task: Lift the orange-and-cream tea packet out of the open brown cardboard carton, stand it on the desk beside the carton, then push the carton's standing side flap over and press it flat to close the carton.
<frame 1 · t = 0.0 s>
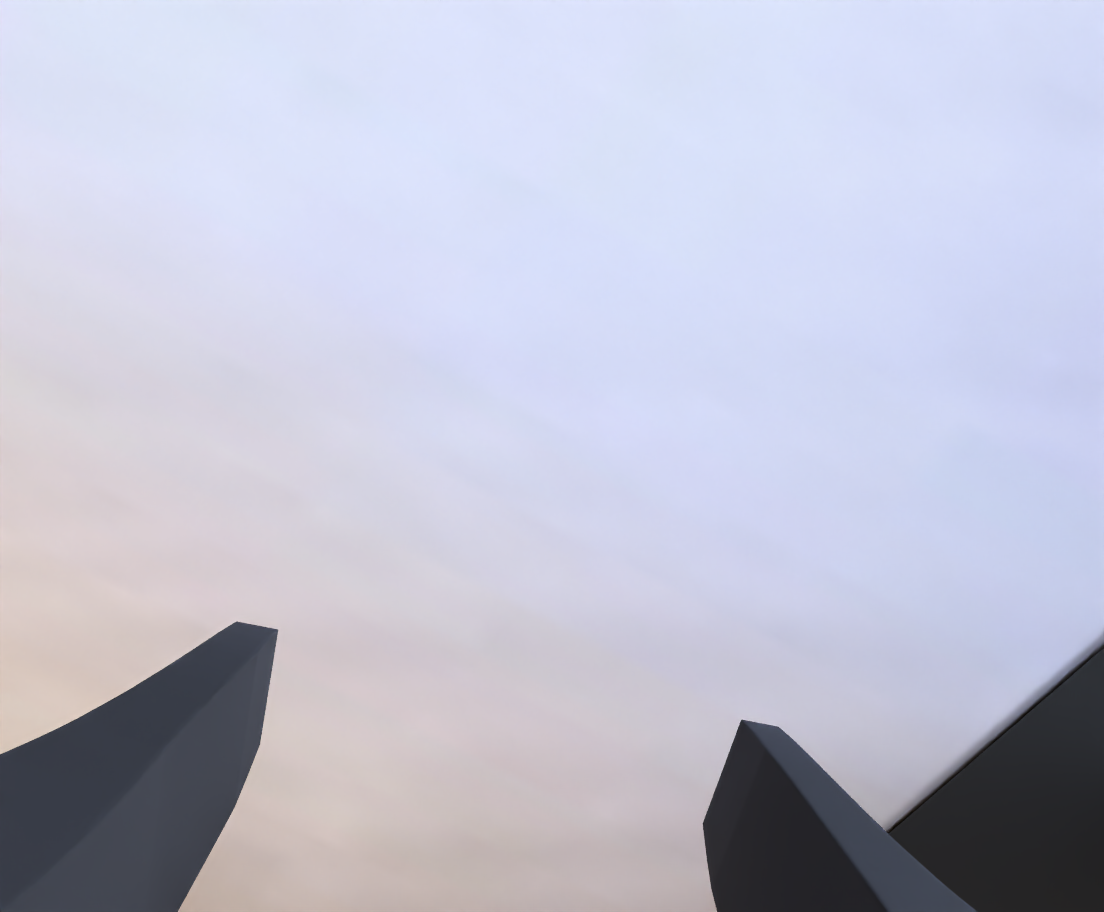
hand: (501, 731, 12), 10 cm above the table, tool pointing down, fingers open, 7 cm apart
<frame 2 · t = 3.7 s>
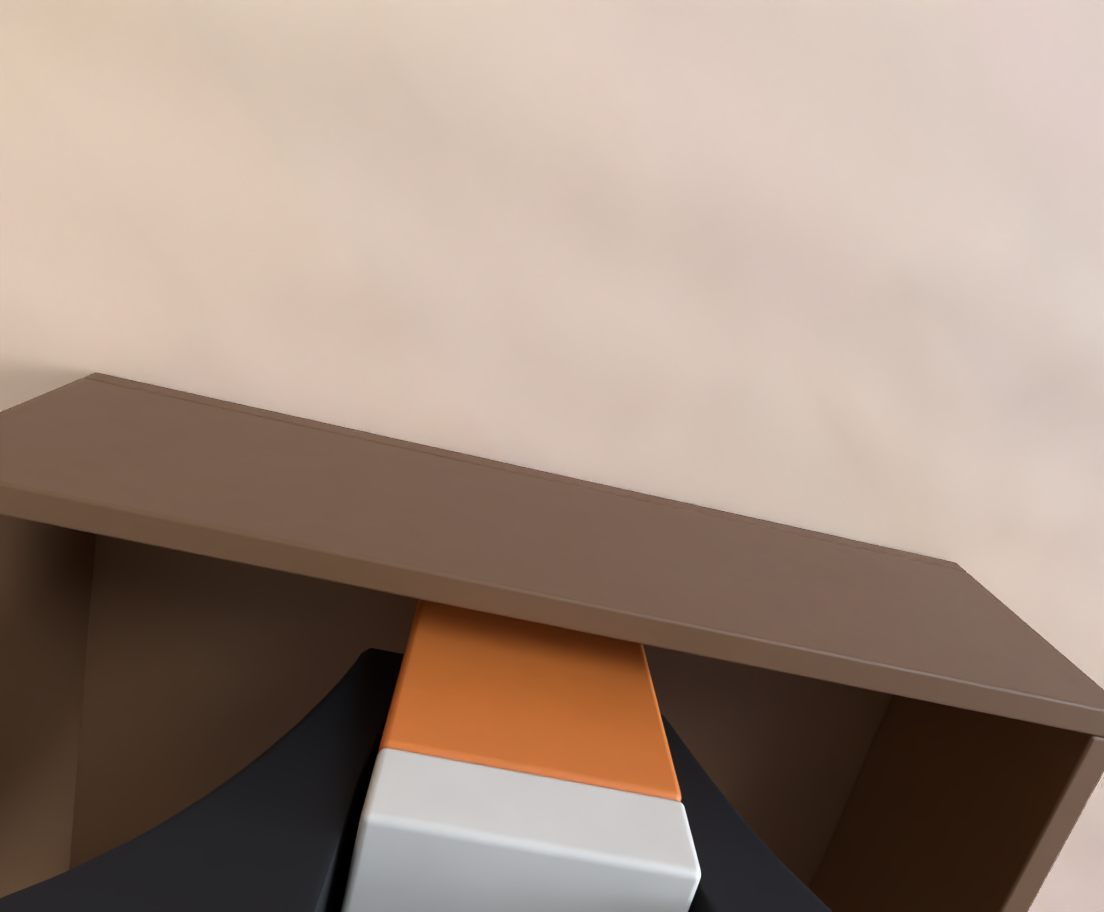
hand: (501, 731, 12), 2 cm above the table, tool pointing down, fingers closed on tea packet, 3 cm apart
tea packet: (503, 658, 14), resting on carton, touching gripper
carton: (481, 737, 15), on the table
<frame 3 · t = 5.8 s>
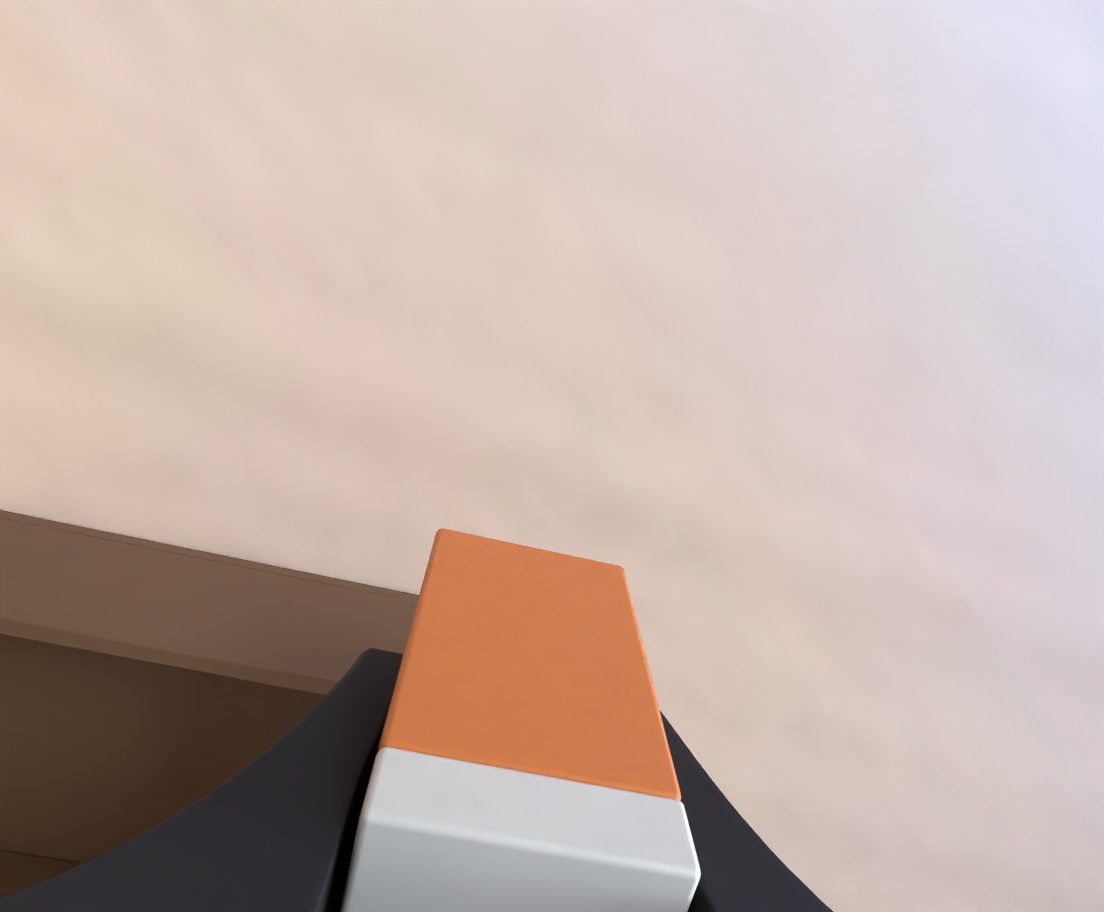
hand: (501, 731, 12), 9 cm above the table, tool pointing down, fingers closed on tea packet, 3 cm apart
tea packet: (503, 657, 14), point 7 cm above the table, touching gripper
carton: (258, 738, 23), on the table
when the fingers open (2 cm above the table, at t = 8.1 s): tea packet stays where it is, on the table.
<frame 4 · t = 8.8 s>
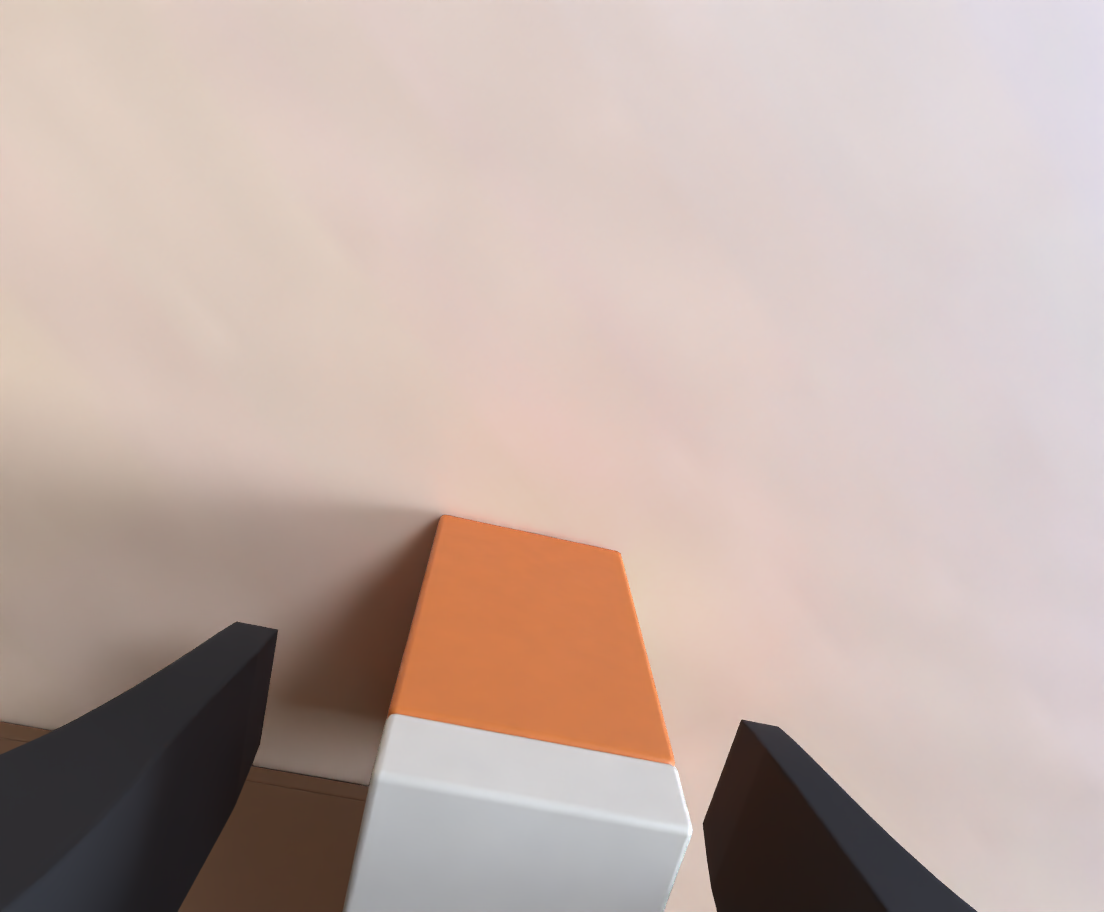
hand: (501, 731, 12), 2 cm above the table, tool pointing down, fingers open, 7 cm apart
tea packet: (504, 640, 15), on the table
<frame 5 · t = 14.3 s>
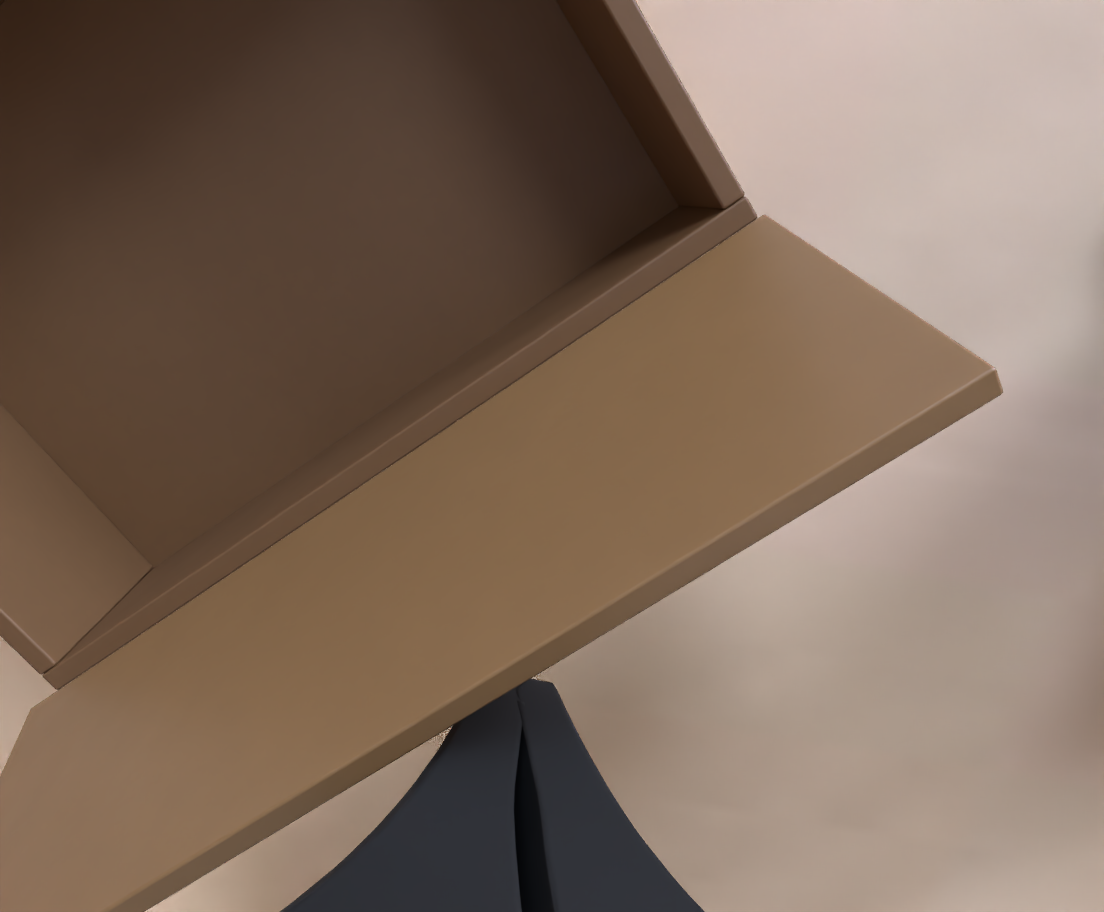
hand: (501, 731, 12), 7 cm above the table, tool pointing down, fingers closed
flap: (371, 598, 11), point 8 cm above the table, hinge at 106.4°, touching gripper
carton: (251, 195, 16), on the table
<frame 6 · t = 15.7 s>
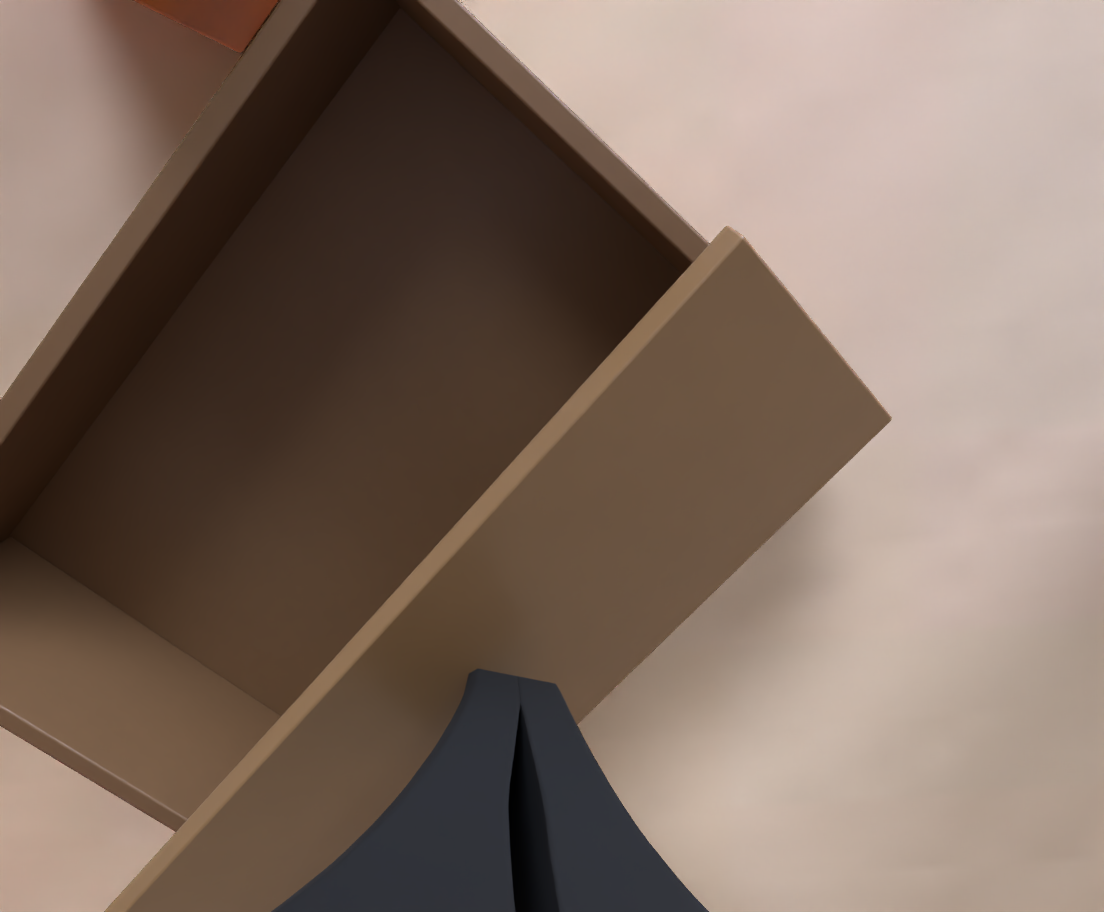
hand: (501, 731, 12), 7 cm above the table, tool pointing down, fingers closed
flap: (476, 691, 13), point 6 cm above the table, hinge at 32.4°, touching gripper
carton: (386, 443, 18), on the table
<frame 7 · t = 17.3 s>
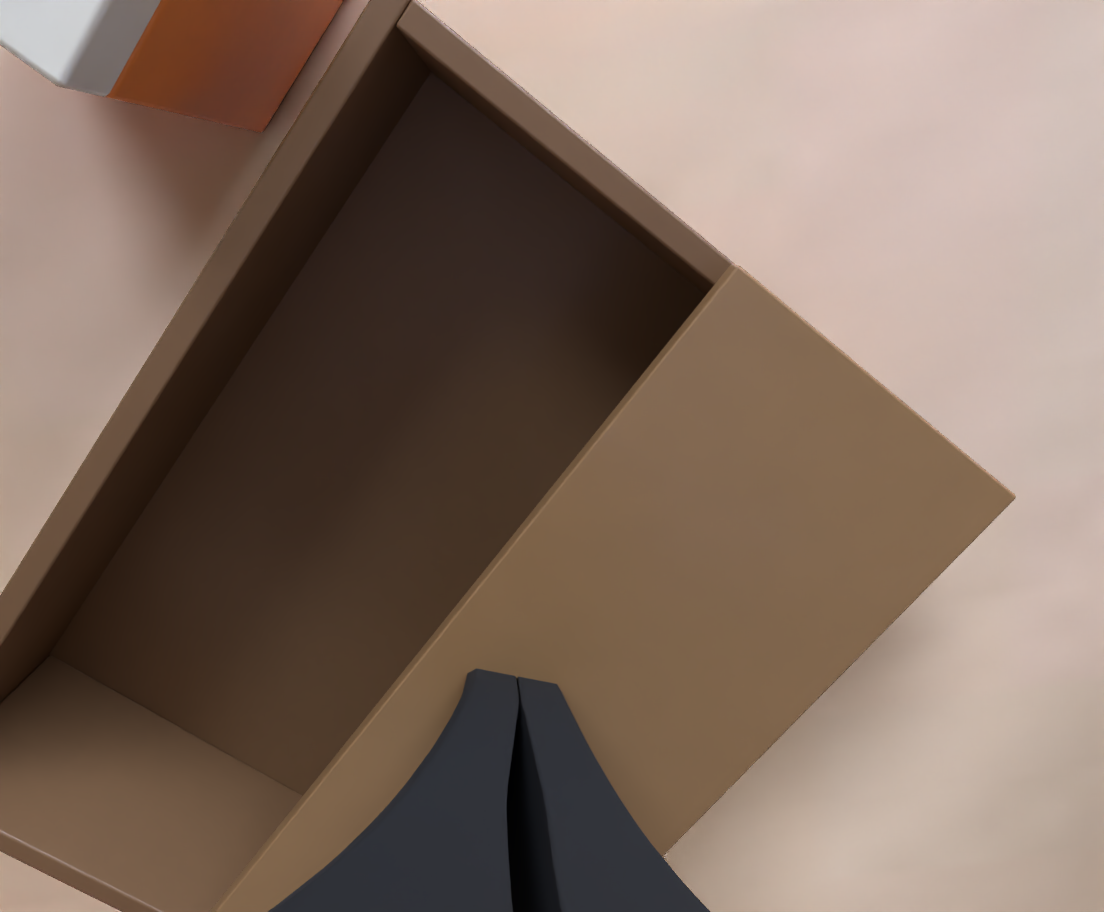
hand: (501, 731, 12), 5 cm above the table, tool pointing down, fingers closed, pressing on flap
flap: (549, 753, 13), point 5 cm above the table, hinge at 0.4°, touching gripper
carton: (439, 530, 17), on the table
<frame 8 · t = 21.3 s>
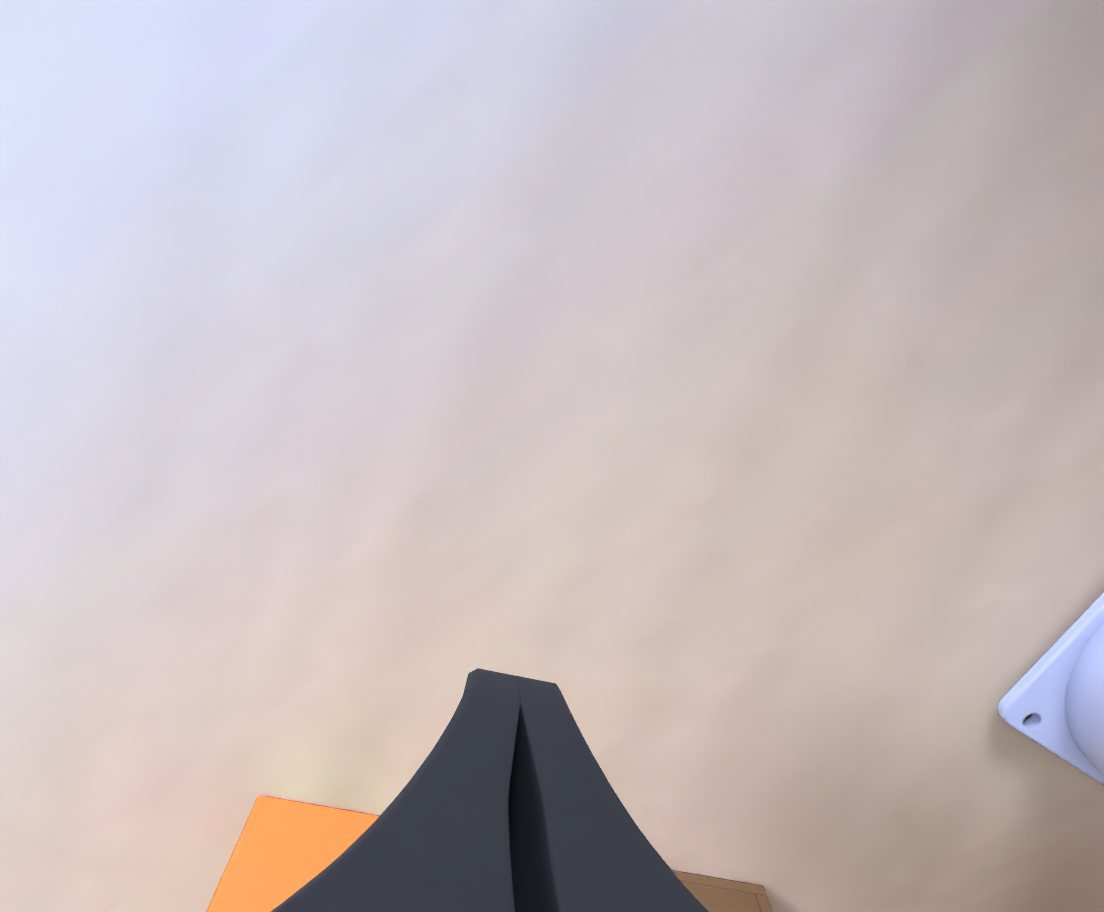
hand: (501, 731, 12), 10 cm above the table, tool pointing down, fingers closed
tea packet: (321, 845, 26), on the table
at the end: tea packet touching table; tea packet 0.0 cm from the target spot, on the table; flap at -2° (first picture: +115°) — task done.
